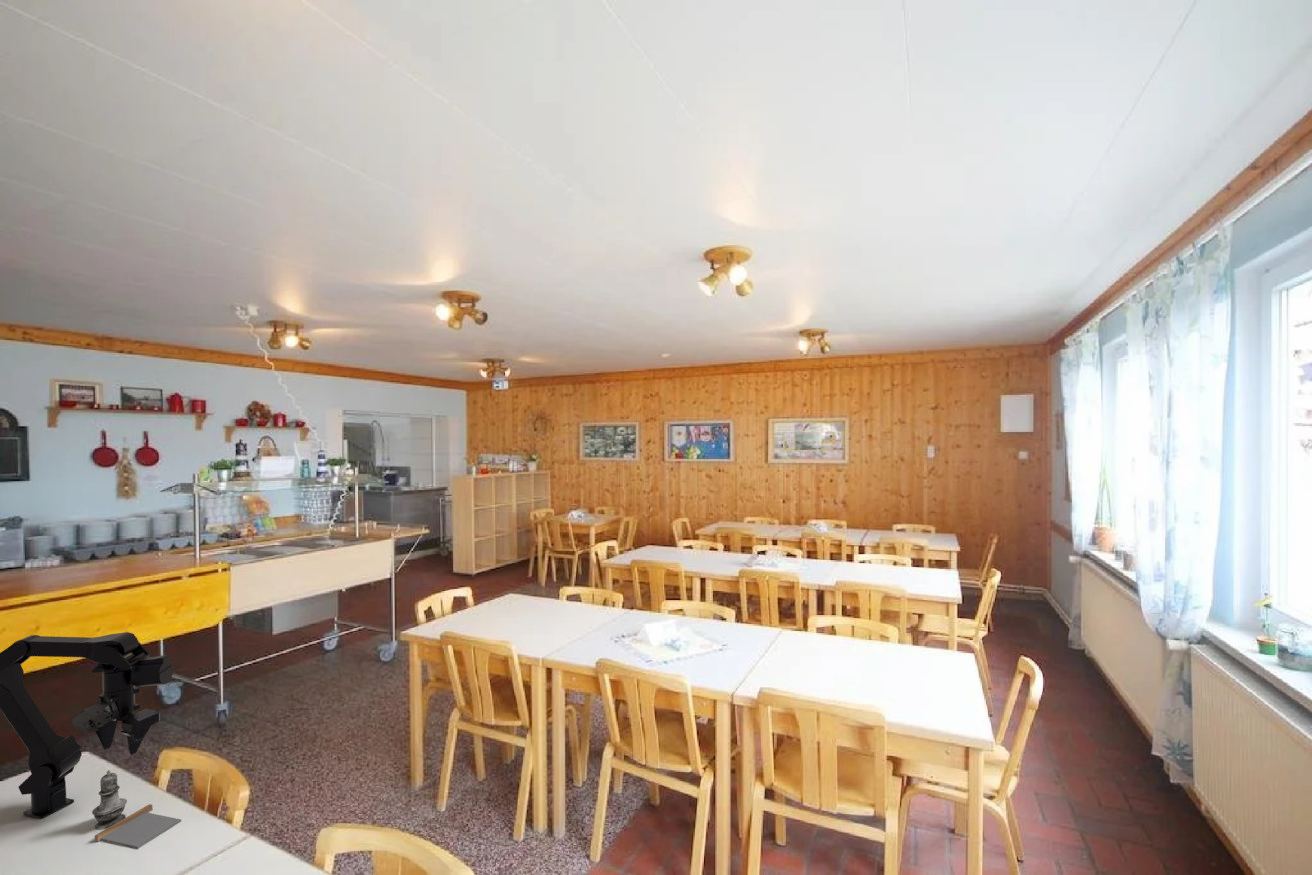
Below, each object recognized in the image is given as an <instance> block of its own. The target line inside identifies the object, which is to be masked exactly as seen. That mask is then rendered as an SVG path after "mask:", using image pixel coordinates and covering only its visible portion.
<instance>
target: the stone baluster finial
mask: <svg viewBox="0 0 1312 875" xmlns="http://www.w3.org/2000/svg"><path fill="white" fill-rule="evenodd" d="M120 788H121V786H120V785H119V784H118V774H117V773H116V772H115V773H114V772H111V770H107V771H106V774H104V775H103V776H102V777H101V779H100V791H98V795H99V797H100V802H99V804H98V806H96V807H95V808H94V809H93V810H92V812H91V813H92V815H93V816H94V818H95V819H96V821H97V823H95V825H94V829H95V830H98V831H99V830H102V831H103V830H105V829H107V828H109V827H110V826H112V825H114V824H116V823H117V822H119V821H121V820H123V819H124V818H126V817H127V815H126V814H125V813H123V812H124V811H125V807H126V804H128V803H127V802H128V800H127V798H120V797H119V789H120Z"/></svg>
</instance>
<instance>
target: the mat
mask: <svg viewBox="0 0 1312 875" xmlns="http://www.w3.org/2000/svg"><path fill="white" fill-rule="evenodd" d="M181 822H182V819H180V818H176V817H171V816H166V815H162V814H156V813H151V812H148V813H147V812H145V813H143V814H142V815H140V816H138V817H137V818H135V819H133V820H131V821H130V822H128V823H126V824H125V825H123V826H121V827H119V828H118V829H116V830H114V831H113V832H111V833H109V834H107V835H106V836H104V837H102V838H101V840H100V841H102V842H107V843H112V844H117V845H121V846H125V847H130V848H134V849H140V848H141V847H143V846H144V845H146V844H147V843H149V842H151V841H152V840H154V839H155V838H158V837H159V836H160V835H162V834H164V833H165V832H167V831H168V830H170V829H171V828H173V827H174V826H176V825H178V824H179V823H181Z"/></svg>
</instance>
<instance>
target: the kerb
mask: <svg viewBox="0 0 1312 875" xmlns="http://www.w3.org/2000/svg"><path fill="white" fill-rule="evenodd" d="M153 808H154V807H153V804H151V803H149V804H147V805H145V806H144V807H142V808H140V809H139V810H137V811H135V812H133V813H131V814H130V815H127V816H126V818H124V819H123V820H121V821H119V822H117V823H116V824H114V825H112V826H110V827H109V828H107V829H103V830H102V831H100V832H97V834H95V835H94V841H95V842H98V843H99V842H101V841H102V840H101V838H102V837H104V836H106V835H107V834H109V833H111V832H113V831H114V830H116V829H118V828H119V827H121V826H123V825H125V824H126V823H128V822H130V821H131V820H133V819H135V818H137V817H138V816H140V815H142V814H143V813H145V812H147V813H151V812H152V811H153Z"/></svg>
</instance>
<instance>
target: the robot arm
mask: <svg viewBox="0 0 1312 875" xmlns="http://www.w3.org/2000/svg"><path fill="white" fill-rule="evenodd" d="M131 655H132V656H131ZM129 656H130V657H129ZM31 657H37V658H38V657H41V658H42V657H44V658H46V657H47V658H81V659H86V660H89V661H91V663H92V662H93V663H97V666H95V667H94V668H93V669H92V670H91V671H90V673H91V674H96V673H102V674H101V675H102V694H99V695H97V697H96V704H94V705H93V706H90V707H87V708H84V709H82V710H81V712H80V713H79V714H78V715H76V716H75V717H73V719H72V720H71V723H72V725H73V726H74V728H75V730H76V732H78V733H84V734H85V735H86V734H87V735H88V734H91V733H93V732H95V733H96V735H97V737H98V740H99V741H100V743H101V745H102V747H103V749H104V750H109V749H111V747H112V744H113V741H114V738H115V734H116V728H117V725H118V722H119V721H120V722H121V723H120V724H121V725H120V728H121V729H122V730H121V731H120V733H121V734H123V735H125V736H126V738H127V746H128V751H129V754H130V756H131V755H135V754H136V753H137V752H138V750H139V748H140V746H141V744H142V742H143V740H144V739H145V736H146V735H147V733H148V732H149V730H150V729H151V727H152V726H153V725H155V724H157V723H159V722H160V720H161V712H159V711H158V710H157V709H156V710H155V709H150V708H145V709H142V710H140V711H137V710H139V709H140V706H141V704H139V703H136V694H137V693H139V692H140V687H149V686H151V687H152V686H161V685H163V686H164V685H167V684H168V683H170V681H171V679H172V677H173V675H174V669H175V665H173V662H172V661H171V660H170V659H169V656H168V654H165V655H164V654H163V655H159V656H151V653H150V652H149V650H148V649H146V647H145V646H144V645H142V643H141V642H140V641H139V639H138V637H137V636H136V635H135V634H134V633H132V632H128V631H127V632H126V631H125V632H117V633H110V634H106V635H100V636H95V637H83V636H81V637H79V636H48V635H47V636H46V635H45V636H44V635H42V636H41V635H38V634H32V635H29V636H25V637H24V638H20V639H18V640H16V641H14V642H13V643H12V644H10V646H8V647H7V648H5V649H4V650H2V651H0V711H1V712H2V713H3V715H4V716H5V718H6V719H7V721H8V723H10V725H11V726H12V728H13V729H14V731H15V732H16V734H17V736H18V737H19V738H20V740H21V741H22V742H23V745H24V746H26V748H27V751H28V761H27V762H28V764H27V766H28V769H29V771H30V775H29V776H28V777H27V778H26V779H25V780H24V781H23V782H22V783H20V785H19V786H17V787H18V790H19V792H20V794H21V795H22V796H24V795H30V807H31V808H29V809H26V810H25V811H23V813H22V815H23V816H28V817H32V818H36V819H44V818H45V817H48V816H50V815H51V814H52V815H53V813H56V812H58V811H59V810H61V809H63V808H65V807H67V806H69V805H72V803H74V802H75V799H73V798H69V797H67V786H66V785H67V784H66V776H68V775H69V774H71V773H72V772H74V769H75V768H76V766H77V765H78V764H79V763H80V760H81V758H82V752H81V749H82V748H83V746H81V745H79V743H78V742H77V741H76V740H77V739H76V738H75V736H73V734H69V736H67V737H64V736H60V735H58V734H57V733H56V732H55V731H54V729H53V728H52V727H51V725H50V723H49V722H48V720H47V719H46V717H45V715H43V713H42V711H41V710H40V708H39V707H38V706H37V704H36V703H35V701H34V700H33V698H32V696H31V695H30V694H29V692H28V691H27V690H26V688H25V687H24V676H25V675H24V674H25V673H24V672H25V671H24V668H23V667H22V664H24V663H25V662H26V661H27V660H29V659H30V658H31ZM127 657H129V658H128V659H126V658H127ZM134 711H136V712H134Z"/></svg>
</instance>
